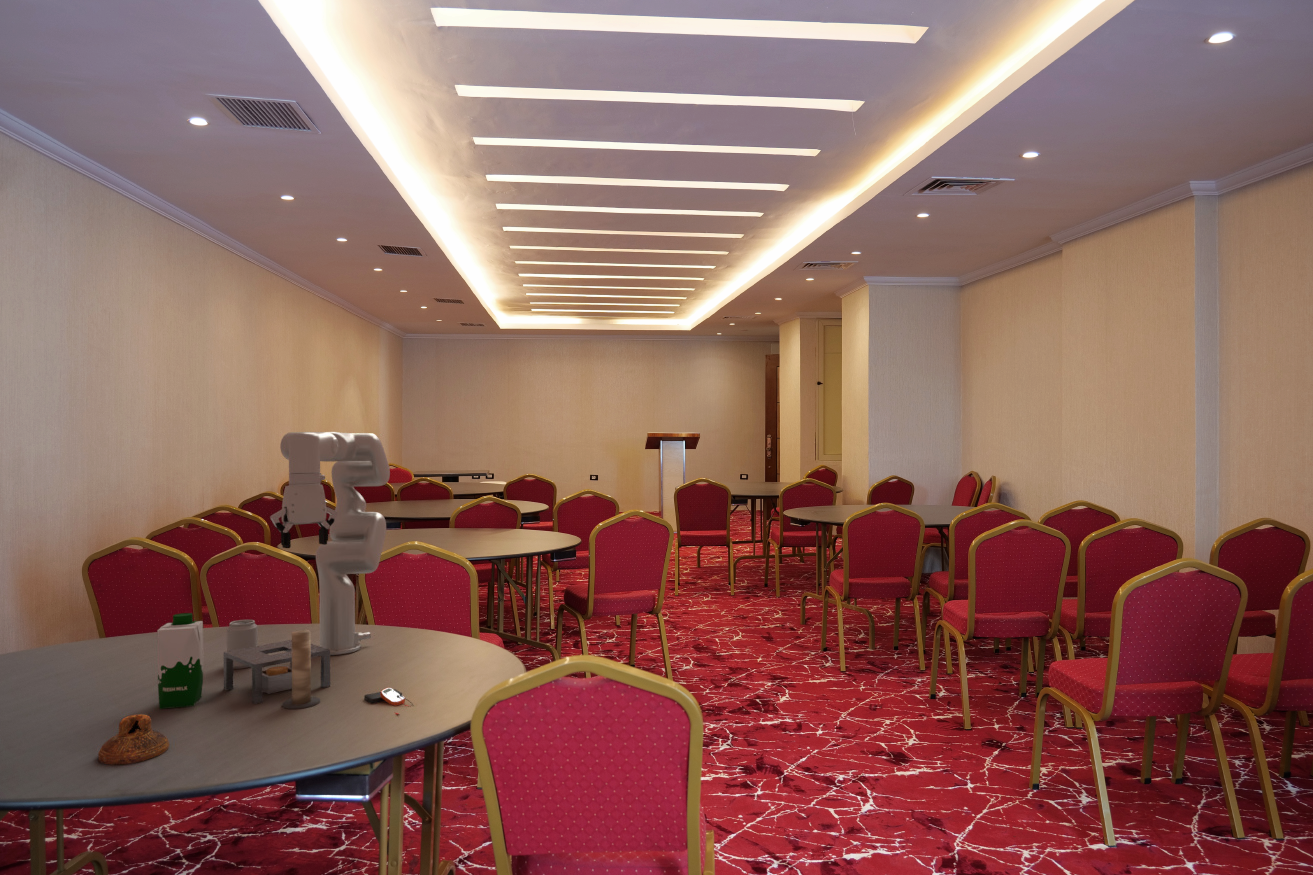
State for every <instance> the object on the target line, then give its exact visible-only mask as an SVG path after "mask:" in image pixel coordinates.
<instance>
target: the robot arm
mask: <svg viewBox="0 0 1313 875" xmlns="http://www.w3.org/2000/svg"><path fill="white" fill-rule="evenodd" d="M279 448H280V452H281V454H282V456H283V457H284V458H285V459H286V460H288V485H285V486H284V487H285V488H284V491H283V497H282V504H281V509H280V510H278V511H277V512H274V513H273V514H272V515H270V516H269V518H270V520H271V521H272V524H273V526H274V527H275V528H276V529H277V530H278V531H279V532H280V544H281V545H282V548H283V549H290V548H291V546H292V545H291V536H292V534H291V532H289V531H290V529H291V528H292V527H293V526H294V525H296V526H297V525H307V524H310V525H311V524H318V526H319V527H320V528H319V530H318V544H319V546H318V548H317V549H316V551H315V562H316V568H317V573H318V580H319V581H318V583H319V645H317V646H320V647H323V648H326V649H329V650H330V656H335V655H336V656H337V655H345V654H350V653H351V654H352V653H354V652H357V651H359V650H360V649H361V644H362V643H360V642H361V641H362V640H370V639H371V637H372V635H371V632H370V631H367V632H363V633H362V632H358V631H356V606H355V604H356V602H355V601H356V600H355V599H356V598H355V597H356V596H355V595H356V590H355V586H354V584H353V582H352V581H351V579H350V578H349V576H348V575H351V574H353V575H356V574H371V573H373V572H375V571H376V570H377V569H378V567H379V565H380V560H381V557H382V553H383V548H384V543H385V539H386V533H387V521H386V519H385V517H384V515H383V514H382V513H380V512H376V511H366V509H367V502H366V500H365V499H364V496H363V495H361V493H360V492H359V491H358V490H357V489H355V487H381V486H384V485H386V484H387V483H388V482H389V480H390V475H391V472H390V470H391V468H390V464H389V461H388V458H387V455H386V453H385V449H384V447H383V444H382V441H381V440H380V438H379V437H378V436H377V435H376V434H375V433H372V432H371V433H368V432H359V433H357V432H355V433H352V432H351V433H350V432H338V431H296V432H294V431H293V432H292V431H291V432H287V433H286V434H284V435H283V437H282V438H281V440H280V447H279ZM321 462H324V463H325V462H326V463H327V462H331V463H332V462H335V463H334V464H333V465H332V467H331V480H332V486H333V490H334V494H335V497H336V505H335V509H333V508H330V507H329V506H327V502H326V495H325V489H324V486H323V484H322V481H324V480H326V475H325V474H322V473H321ZM327 514H329V516H328V518H327ZM280 518H281V521H280ZM281 522H282V523H281ZM329 537H330V539H331V541H329Z"/></svg>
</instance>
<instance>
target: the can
mask: <svg viewBox="0 0 1313 875" xmlns="http://www.w3.org/2000/svg"><path fill="white" fill-rule="evenodd" d="M228 625H229V626H228V627H227V628H226V652H227V651H232V650H238V649H243V648H249V647H254V646H259V645H258V644H259V643H258V635H259V634H258V630H259V628H258V625H257V624H256V621H255V620H254V619H239V620H233V621H231V622H229V624H228ZM247 668H250V667H249V666H247V665H244V664H242V663H239V662H237V661H234V660H233V670H234V669H236V670H238V669H239V670H241V669H247Z"/></svg>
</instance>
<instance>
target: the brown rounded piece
mask: <svg viewBox="0 0 1313 875" xmlns="http://www.w3.org/2000/svg"><path fill="white" fill-rule="evenodd" d="M169 747H170V741H169V739H168V737H167V736H166V735H165V734H163V733H162V732H160V731H157V730H153V729H152V719H151V717H150V716H149V715H147V714H141V713H139V714H130V715H128V716H125V717H124V718H122V719H121V721H120V722H119V724H118V732H117V734H116V735H113V736H111V737H110V738H109V739H108V740H106V741H105V742H104V743H103V744H102V745H101V748H100V749H99V751H98V755H97V757H98V761H99V762H100V763H101V764H104V765H110V766H116V765H129V764H134V763H135V764H136V763H139V762H143V761H147V760H149V759H153V758H155V757H159V756H160V755H162V754H164V753H165V752H166V751H167V750H168V749H169Z"/></svg>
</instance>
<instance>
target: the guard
mask: <svg viewBox="0 0 1313 875" xmlns="http://www.w3.org/2000/svg"><path fill="white" fill-rule="evenodd" d="M283 651H284V652H283ZM278 652H280V653H278ZM273 653H275V654H273ZM316 657H320V687H321V688H323V689H325V688H329V687H331V655H330V650H329V649H326V648H323V647H320V646H318V645H317V644H314V643H311V659H312V658H316ZM233 660H234V661H237V662H239V663H242V664H244V665H247V666H249V667H248V668H251V693H252V694H251V697H252V698H251V700H252V704H255V705H256V704H261V703H263V693H264V694H265V693H266V694H267V695H270V694H275V693H279V692H284V691H287V690H292V639H287V640H282V641H277V642H273V643H272V642H271V643H266V644H260V645H258V646H254V647H249V648H243V649H238V650H232V651H227V650H226V651H223V690H225V691H229V690H233V689H234V669H233ZM285 663H286V664H287V663H290V666H288V665H284V666H285V667H288V672H287V673H282V674H278V675H273V676H269V675H266V670H267V669H263V668H266V667H272V666H276V665H277V666H278V665H281V664H285Z"/></svg>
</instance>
